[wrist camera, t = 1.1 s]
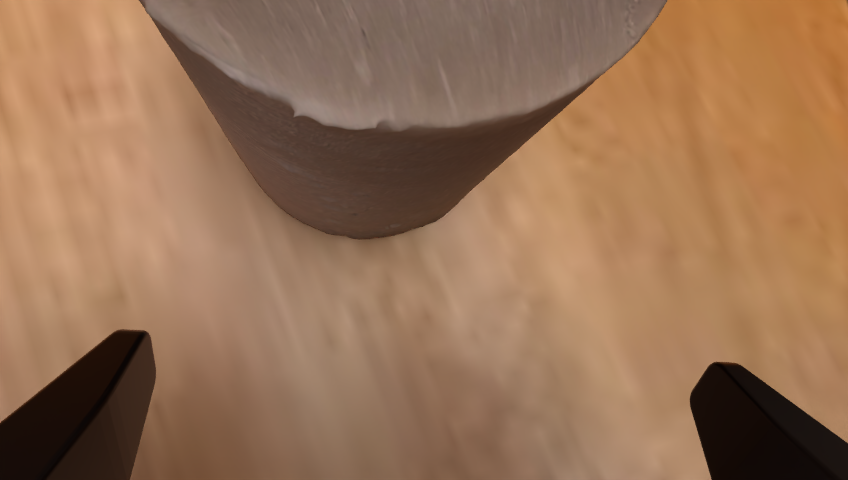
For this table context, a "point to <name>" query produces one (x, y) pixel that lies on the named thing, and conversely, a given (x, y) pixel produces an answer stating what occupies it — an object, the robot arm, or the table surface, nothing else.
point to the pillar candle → (389, 92)
